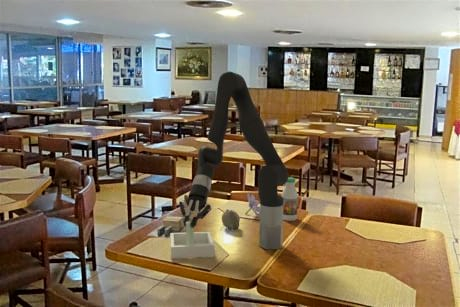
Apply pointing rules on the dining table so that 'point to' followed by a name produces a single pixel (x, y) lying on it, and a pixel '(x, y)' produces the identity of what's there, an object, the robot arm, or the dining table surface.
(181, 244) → the tray
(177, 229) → the offcut bottom
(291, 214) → the milk bottle
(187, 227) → the pale green block
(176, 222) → the offcut top
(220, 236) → the dining table surface
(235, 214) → the grey rounded lump
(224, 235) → the dining table surface
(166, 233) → the rack
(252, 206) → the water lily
